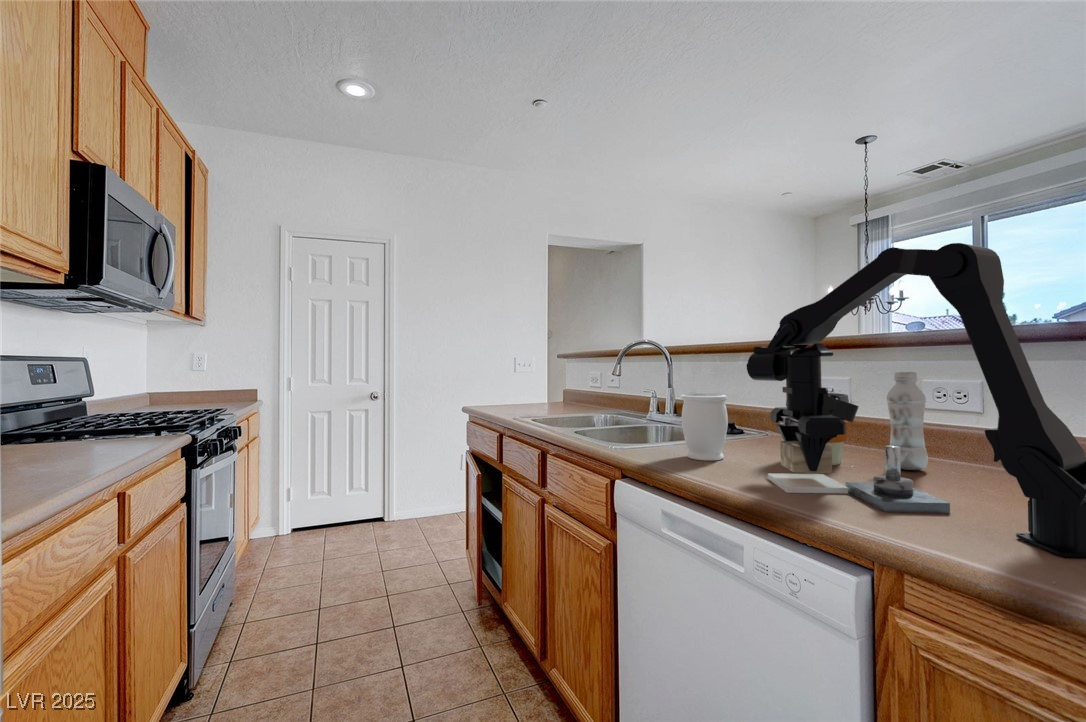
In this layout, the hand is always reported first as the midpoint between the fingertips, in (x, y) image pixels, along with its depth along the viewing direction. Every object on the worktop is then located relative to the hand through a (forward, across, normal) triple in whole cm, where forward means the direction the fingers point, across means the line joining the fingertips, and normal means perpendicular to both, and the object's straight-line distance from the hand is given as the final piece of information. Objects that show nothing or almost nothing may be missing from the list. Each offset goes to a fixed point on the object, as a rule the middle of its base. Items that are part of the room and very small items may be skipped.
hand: (805, 466), depth 88 cm
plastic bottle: (+4, +14, -25) cm, 29 cm away
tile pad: (+3, 0, 0) cm, 3 cm away
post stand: (+4, -9, -10) cm, 14 cm away
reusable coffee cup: (+4, +22, -11) cm, 25 cm away
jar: (+4, +25, +13) cm, 28 cm away
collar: (0, 0, 0) cm, 0 cm away
